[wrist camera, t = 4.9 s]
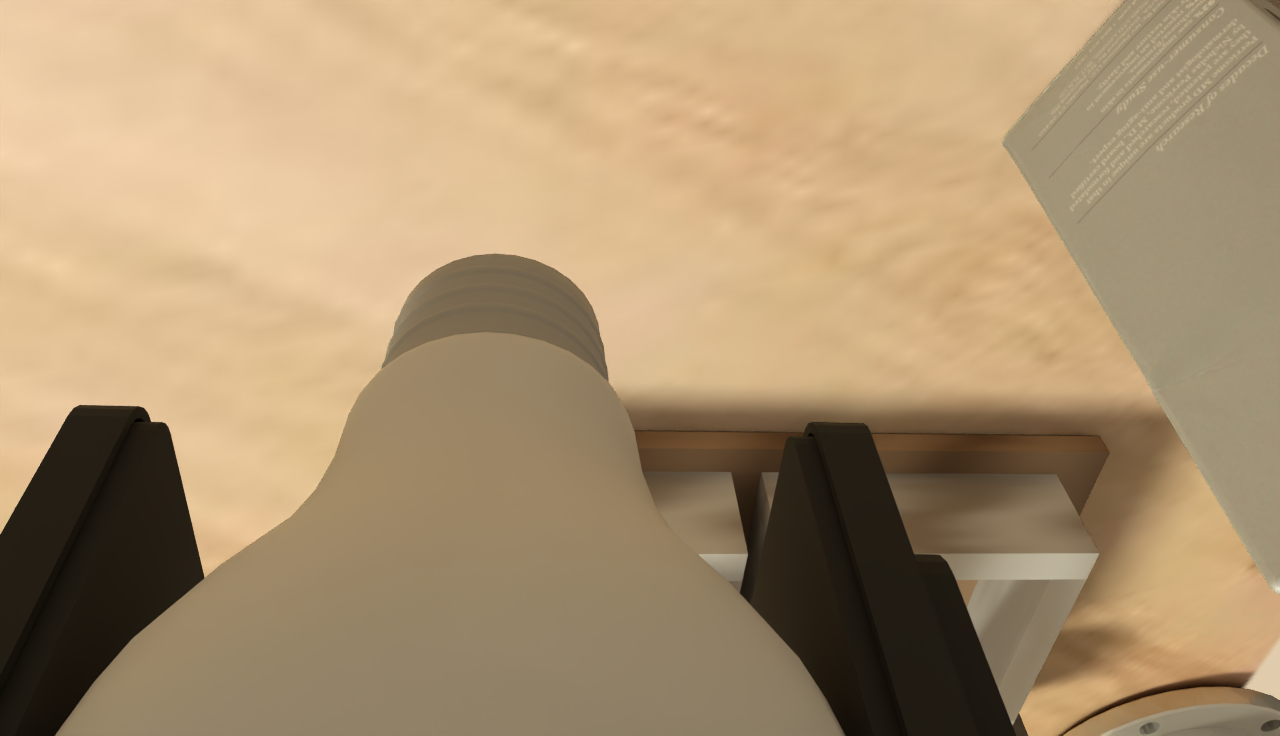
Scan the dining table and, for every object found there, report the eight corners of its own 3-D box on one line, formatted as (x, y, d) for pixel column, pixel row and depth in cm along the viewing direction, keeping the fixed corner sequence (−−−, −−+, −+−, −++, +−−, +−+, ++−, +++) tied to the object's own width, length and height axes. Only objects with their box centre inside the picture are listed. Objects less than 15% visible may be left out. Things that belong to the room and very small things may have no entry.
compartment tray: (1099, 436, 36) (1252, 684, 28) (976, 703, 45) (1066, 945, 37) (366, 428, 33) (315, 699, 26) (393, 713, 42) (362, 976, 35)
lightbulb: (831, 247, 14) (1323, 1451, 5) (568, 533, 17) (590, 1628, 8) (404, -30, 11) (-90, 1369, 3) (180, 361, 14) (-416, 1663, 5)
